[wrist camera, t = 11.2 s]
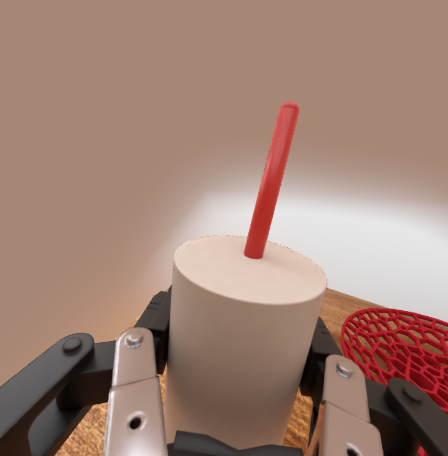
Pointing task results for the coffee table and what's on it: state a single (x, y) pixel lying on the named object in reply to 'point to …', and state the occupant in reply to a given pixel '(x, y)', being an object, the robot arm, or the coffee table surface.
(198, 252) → the paper cup
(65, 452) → the coffee table surface
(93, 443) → the coffee table surface
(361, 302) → the coffee table surface
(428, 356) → the bowl
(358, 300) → the coffee table surface
